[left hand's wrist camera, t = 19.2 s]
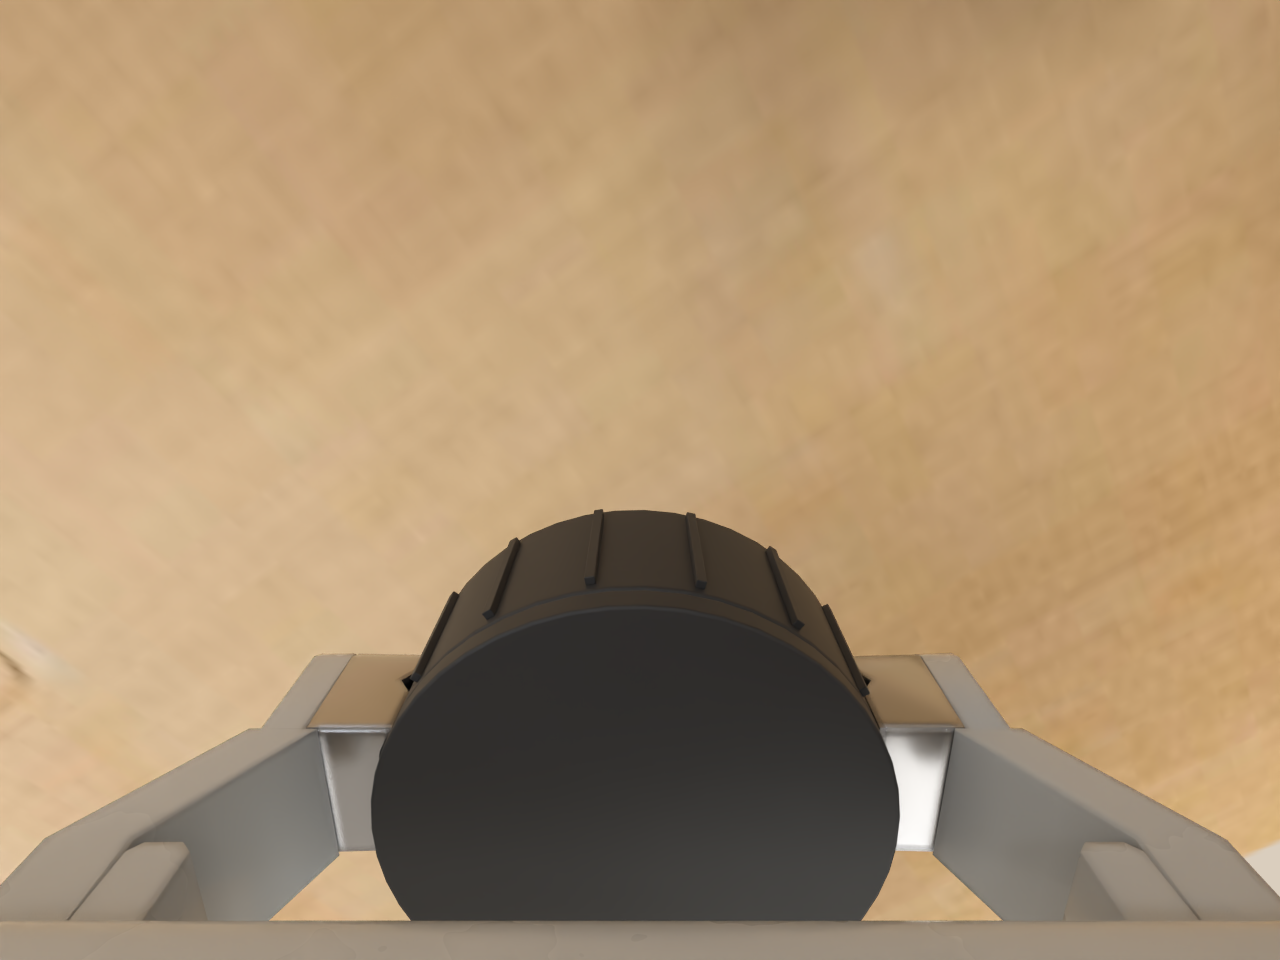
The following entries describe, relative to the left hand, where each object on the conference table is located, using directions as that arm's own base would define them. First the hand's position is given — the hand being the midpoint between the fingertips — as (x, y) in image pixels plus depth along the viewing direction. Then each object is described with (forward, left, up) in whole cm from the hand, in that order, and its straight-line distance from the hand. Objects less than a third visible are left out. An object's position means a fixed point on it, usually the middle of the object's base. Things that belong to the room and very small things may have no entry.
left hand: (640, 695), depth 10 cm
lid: (0, 0, +2) cm, 2 cm away
